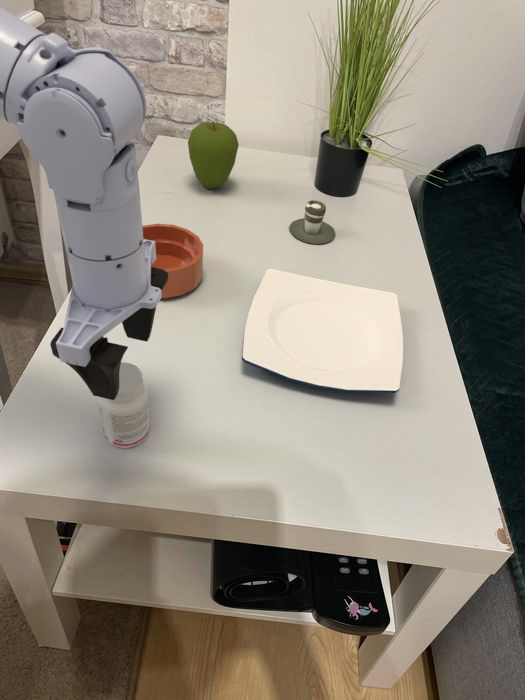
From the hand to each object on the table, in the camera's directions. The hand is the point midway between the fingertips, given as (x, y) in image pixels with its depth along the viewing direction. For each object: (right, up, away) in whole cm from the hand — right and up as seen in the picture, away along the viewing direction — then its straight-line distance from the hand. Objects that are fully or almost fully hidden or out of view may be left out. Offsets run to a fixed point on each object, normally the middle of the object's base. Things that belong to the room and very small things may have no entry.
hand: (122, 364), depth 49 cm
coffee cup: (+21, +21, +39) cm, 49 cm away
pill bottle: (-1, -7, +7) cm, 10 cm away
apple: (+4, +31, +46) cm, 55 cm away
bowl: (-1, +12, +26) cm, 29 cm away
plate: (+21, +3, +21) cm, 30 cm away
